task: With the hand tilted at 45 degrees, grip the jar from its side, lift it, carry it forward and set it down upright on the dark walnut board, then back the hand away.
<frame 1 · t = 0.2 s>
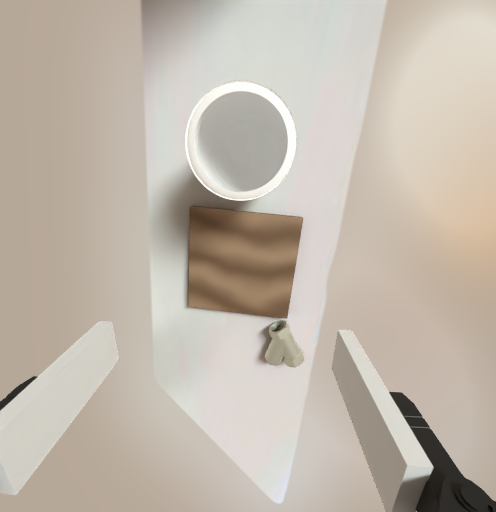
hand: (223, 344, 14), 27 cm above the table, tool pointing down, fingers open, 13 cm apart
walnut board: (242, 263, 41), on the table
pipe fitting: (277, 339, 46), on the table
jar: (251, 159, 36), on the table
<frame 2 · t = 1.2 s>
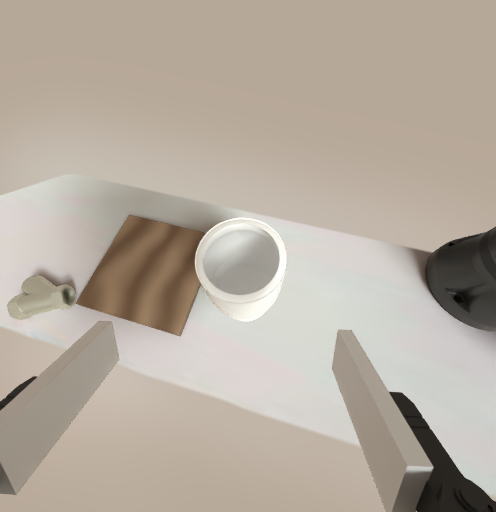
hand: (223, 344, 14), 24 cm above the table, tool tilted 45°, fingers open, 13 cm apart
walnut board: (153, 270, 42), on the table
pipe fitting: (54, 296, 41), on the table
jar: (245, 296, 40), on the table
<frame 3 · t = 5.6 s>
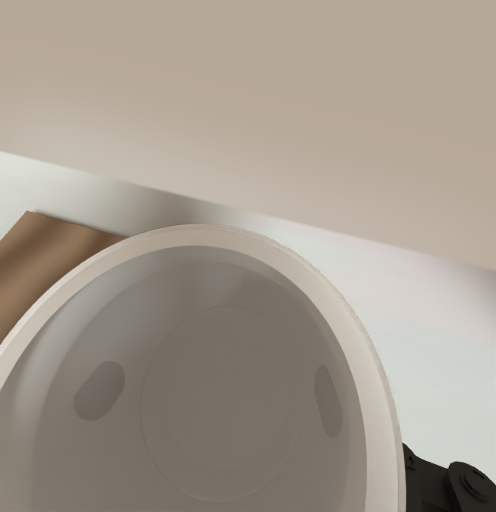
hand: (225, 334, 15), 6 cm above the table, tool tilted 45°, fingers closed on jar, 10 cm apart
walnut board: (53, 321, 21), on the table
jar: (231, 384, 19), on the table, touching gripper
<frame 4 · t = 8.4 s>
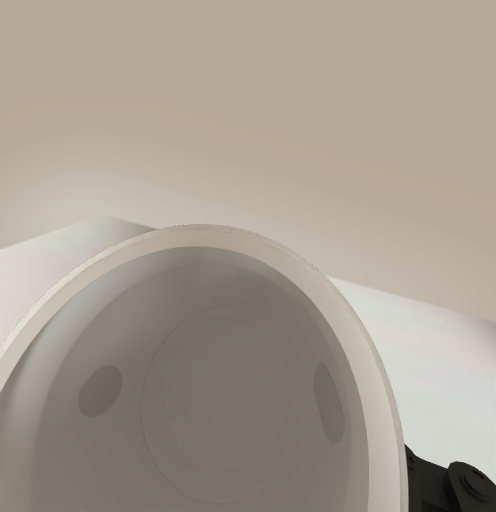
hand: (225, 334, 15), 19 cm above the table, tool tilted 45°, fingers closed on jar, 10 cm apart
jar: (231, 385, 19), point 13 cm above the table, touching gripper
when the fingers open (9 cm above the table, at t = 11.3 s): jar drops 2 cm, resting on walnut board.
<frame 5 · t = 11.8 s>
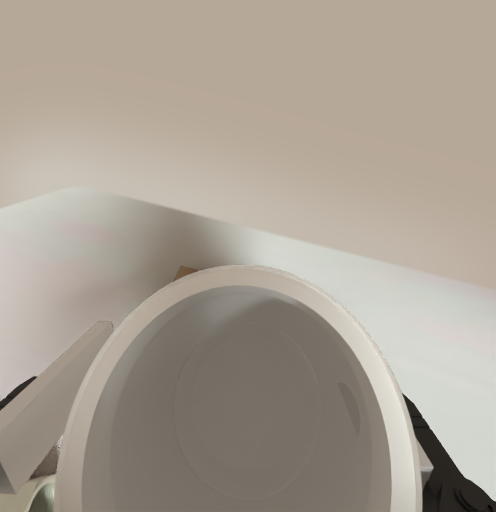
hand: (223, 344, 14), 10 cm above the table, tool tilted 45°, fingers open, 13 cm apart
pipe fitting: (18, 477, 20), on the table
jar: (249, 391, 20), point 1 cm above the table, touching gripper, walnut board
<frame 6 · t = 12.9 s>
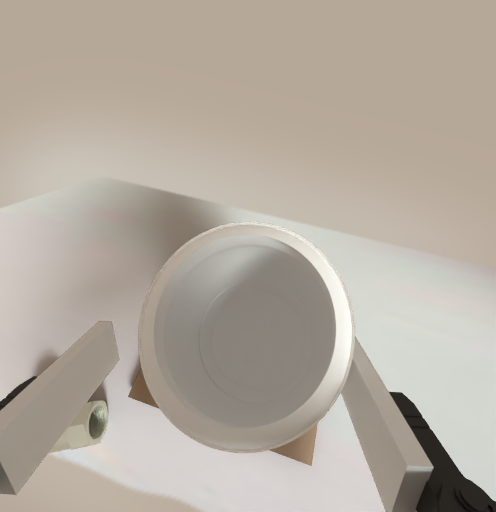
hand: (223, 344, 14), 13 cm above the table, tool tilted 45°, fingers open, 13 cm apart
walnut board: (243, 334, 27), on the table
pipe fitting: (72, 406, 24), on the table
jar: (258, 339, 25), point 2 cm above the table, touching gripper, walnut board
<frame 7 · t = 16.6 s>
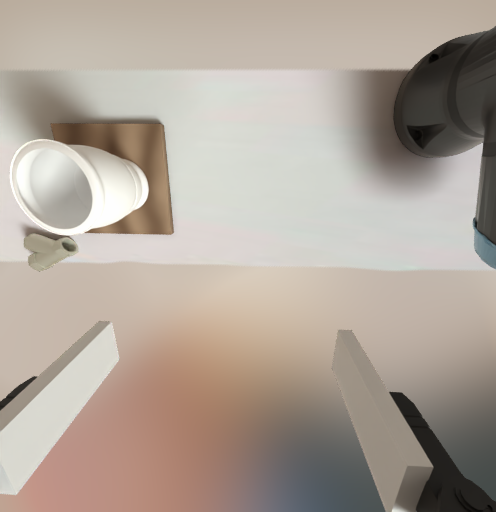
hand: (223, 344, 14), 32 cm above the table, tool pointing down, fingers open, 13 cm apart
walnut board: (119, 182, 42), on the table
pipe fitting: (56, 243, 47), on the table
jar: (126, 185, 41), point 1 cm above the table, touching walnut board
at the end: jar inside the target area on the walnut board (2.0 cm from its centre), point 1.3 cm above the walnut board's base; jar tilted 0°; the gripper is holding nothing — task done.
